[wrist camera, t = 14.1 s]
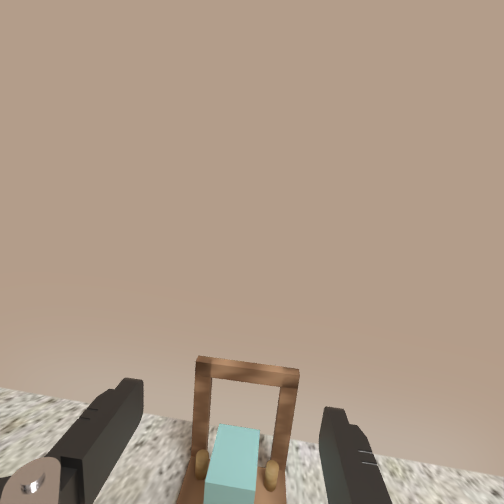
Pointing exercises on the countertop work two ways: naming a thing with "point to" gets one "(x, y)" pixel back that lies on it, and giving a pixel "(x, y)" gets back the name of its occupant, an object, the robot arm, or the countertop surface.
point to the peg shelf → (192, 491)
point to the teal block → (232, 466)
